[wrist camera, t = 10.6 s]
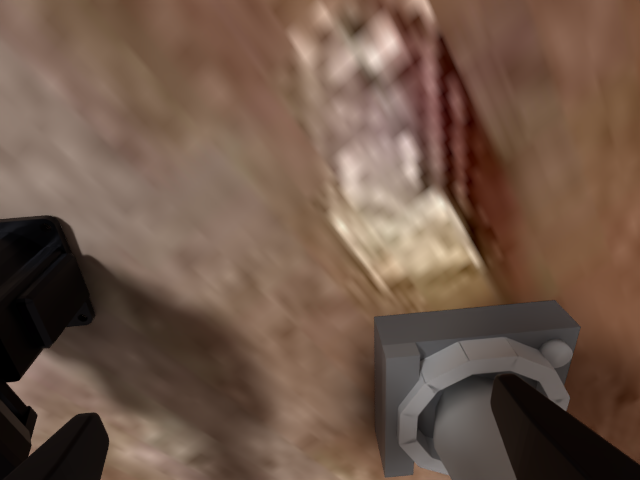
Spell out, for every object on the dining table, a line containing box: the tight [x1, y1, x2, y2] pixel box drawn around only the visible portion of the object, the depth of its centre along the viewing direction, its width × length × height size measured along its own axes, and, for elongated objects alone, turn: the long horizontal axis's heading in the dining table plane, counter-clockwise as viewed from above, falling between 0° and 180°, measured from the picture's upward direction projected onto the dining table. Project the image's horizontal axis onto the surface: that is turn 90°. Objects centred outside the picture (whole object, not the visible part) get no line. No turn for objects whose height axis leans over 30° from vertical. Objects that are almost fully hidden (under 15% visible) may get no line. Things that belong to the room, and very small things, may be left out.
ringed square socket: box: [374, 300, 581, 478], centre depth 25 cm, size 11×10×4 cm
